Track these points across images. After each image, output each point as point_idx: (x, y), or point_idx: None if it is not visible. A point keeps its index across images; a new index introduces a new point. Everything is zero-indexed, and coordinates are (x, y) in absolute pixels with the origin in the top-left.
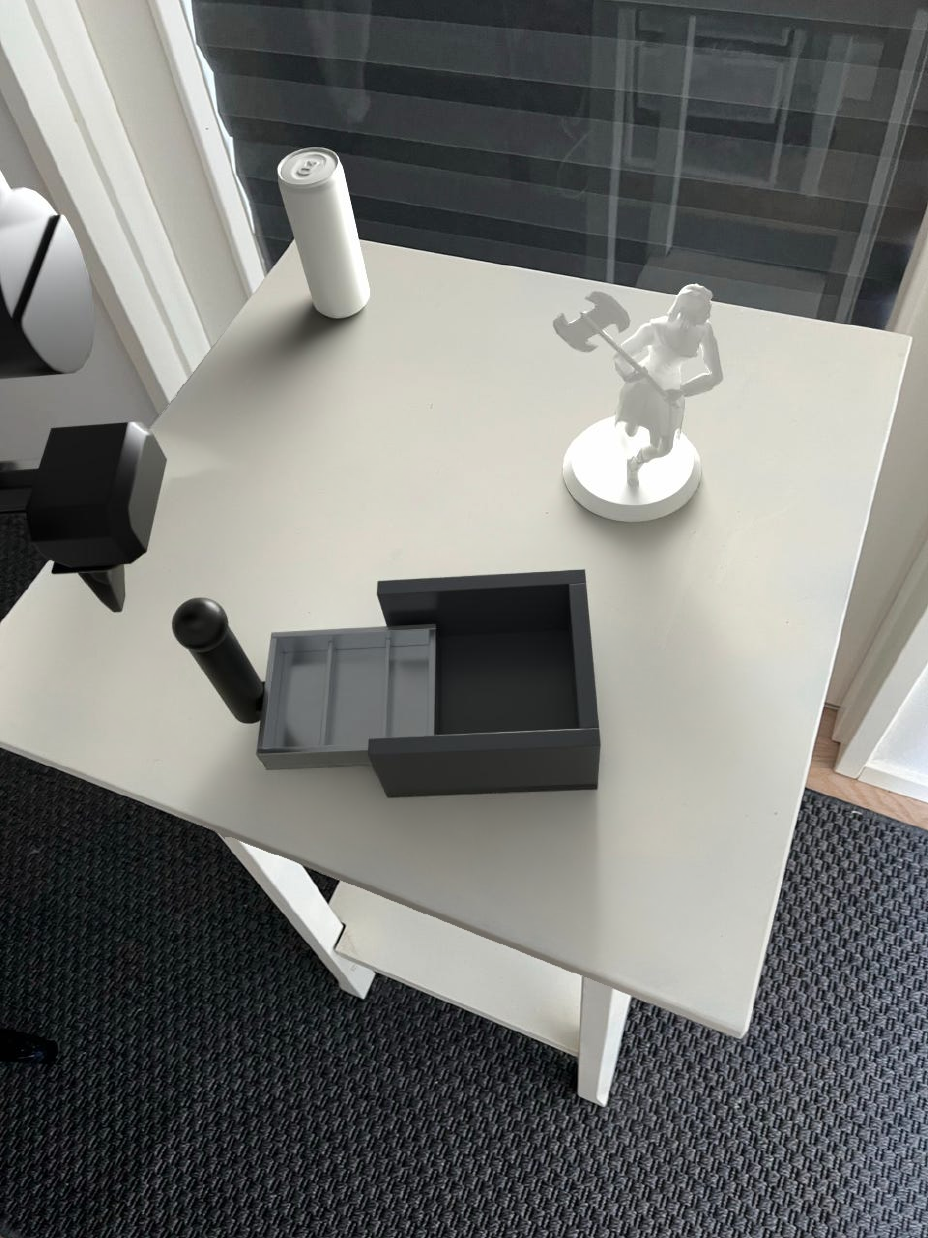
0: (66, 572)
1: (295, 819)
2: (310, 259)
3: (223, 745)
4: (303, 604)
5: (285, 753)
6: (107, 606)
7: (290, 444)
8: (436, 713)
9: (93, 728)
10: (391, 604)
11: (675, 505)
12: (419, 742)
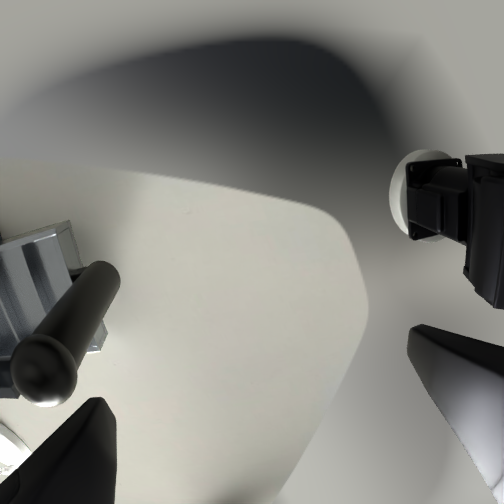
0: None
1: (47, 184)
2: None
3: (130, 238)
4: (123, 370)
5: (31, 235)
6: (88, 413)
7: (199, 467)
8: None
9: (265, 234)
10: (10, 378)
11: None
12: None
